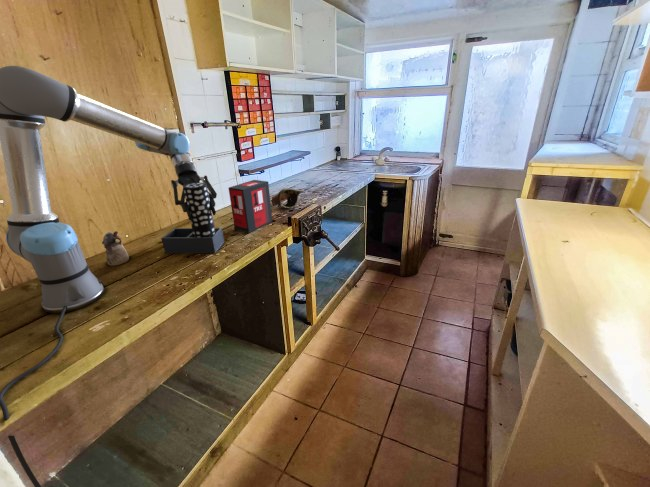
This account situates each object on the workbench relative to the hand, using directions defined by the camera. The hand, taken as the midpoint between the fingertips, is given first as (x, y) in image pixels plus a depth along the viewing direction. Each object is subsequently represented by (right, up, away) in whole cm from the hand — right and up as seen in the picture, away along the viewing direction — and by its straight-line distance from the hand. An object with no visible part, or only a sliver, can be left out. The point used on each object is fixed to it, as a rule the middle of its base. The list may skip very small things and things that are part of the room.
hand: (202, 215), depth 120 cm
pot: (+25, +10, +57) cm, 63 cm away
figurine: (-32, -18, -1) cm, 37 cm away
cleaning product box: (+13, -2, +31) cm, 33 cm away
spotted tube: (-2, -7, +6) cm, 9 cm away
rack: (-6, -12, +9) cm, 16 cm away
